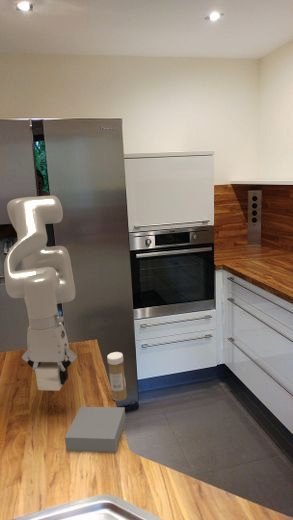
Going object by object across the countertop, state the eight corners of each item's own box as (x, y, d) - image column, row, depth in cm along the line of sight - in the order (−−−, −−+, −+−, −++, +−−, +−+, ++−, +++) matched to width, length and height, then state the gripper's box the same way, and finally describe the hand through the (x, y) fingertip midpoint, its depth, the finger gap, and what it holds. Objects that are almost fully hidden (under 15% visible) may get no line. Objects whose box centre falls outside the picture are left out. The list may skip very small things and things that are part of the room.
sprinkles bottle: (129, 394, 105) (125, 352, 103) (122, 402, 101) (118, 359, 99) (115, 391, 107) (111, 350, 104) (108, 400, 103) (104, 357, 100)
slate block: (82, 419, 96) (80, 406, 95) (125, 420, 94) (124, 407, 93) (66, 452, 84) (64, 437, 83) (115, 454, 82) (114, 438, 82)
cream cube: (47, 377, 101) (44, 358, 100) (67, 378, 100) (64, 358, 99) (38, 390, 96) (35, 370, 94) (59, 390, 95) (56, 370, 93)
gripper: (79, 315, 96) (86, 374, 100) (20, 315, 99) (29, 373, 103) (70, 326, 89) (78, 390, 93) (6, 326, 91) (16, 388, 96)
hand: (52, 380), depth 98 cm, fingers closed on cream cube, 6 cm apart
